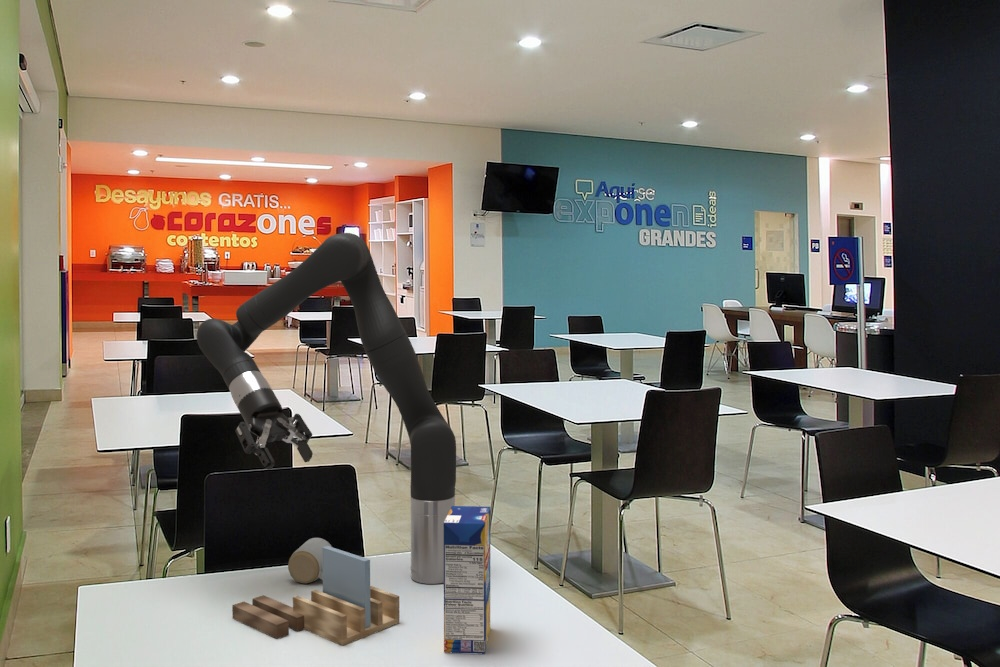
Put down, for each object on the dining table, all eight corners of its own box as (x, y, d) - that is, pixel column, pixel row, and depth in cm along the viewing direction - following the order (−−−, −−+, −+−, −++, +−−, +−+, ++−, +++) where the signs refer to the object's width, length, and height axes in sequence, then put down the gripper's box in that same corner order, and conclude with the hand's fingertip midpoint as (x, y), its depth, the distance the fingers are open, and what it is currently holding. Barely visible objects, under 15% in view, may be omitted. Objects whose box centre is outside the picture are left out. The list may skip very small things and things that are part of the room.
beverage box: (443, 653, 144) (443, 523, 142) (452, 626, 155) (452, 505, 153) (484, 654, 143) (484, 523, 142) (490, 628, 154) (490, 506, 153)
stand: (232, 618, 159) (232, 605, 158) (263, 608, 163) (263, 595, 163) (277, 639, 149) (276, 624, 149) (308, 627, 154) (308, 613, 154)
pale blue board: (323, 611, 159) (322, 547, 159) (328, 609, 160) (327, 545, 159) (365, 628, 151) (364, 561, 151) (370, 626, 152) (370, 559, 152)
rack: (293, 624, 156) (292, 597, 155) (350, 604, 166) (349, 578, 165) (342, 645, 147) (342, 616, 146) (399, 623, 156) (399, 595, 156)
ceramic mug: (285, 584, 177) (285, 547, 176) (302, 571, 185) (302, 535, 184) (334, 588, 174) (334, 551, 174) (349, 575, 182) (349, 539, 182)
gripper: (230, 390, 165) (266, 457, 158) (292, 383, 176) (329, 445, 169) (216, 415, 169) (251, 481, 162) (277, 406, 180) (313, 468, 173)
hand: (290, 463), depth 166 cm, fingers open, 8 cm apart
